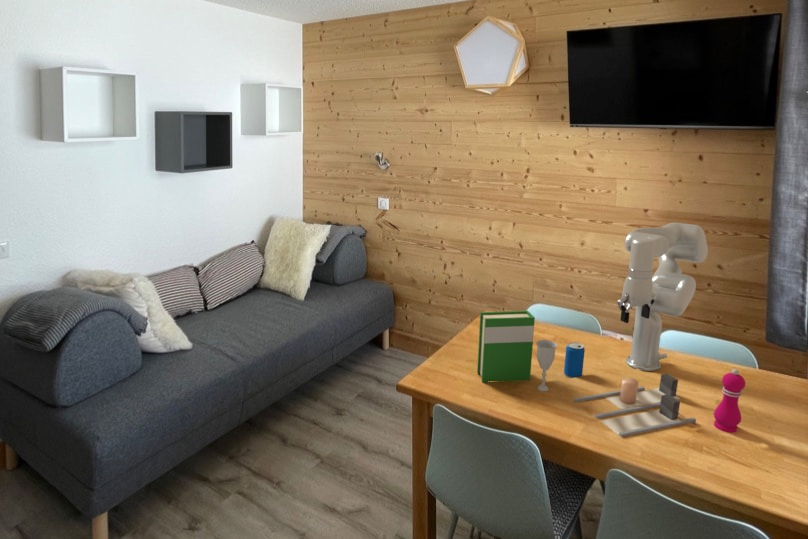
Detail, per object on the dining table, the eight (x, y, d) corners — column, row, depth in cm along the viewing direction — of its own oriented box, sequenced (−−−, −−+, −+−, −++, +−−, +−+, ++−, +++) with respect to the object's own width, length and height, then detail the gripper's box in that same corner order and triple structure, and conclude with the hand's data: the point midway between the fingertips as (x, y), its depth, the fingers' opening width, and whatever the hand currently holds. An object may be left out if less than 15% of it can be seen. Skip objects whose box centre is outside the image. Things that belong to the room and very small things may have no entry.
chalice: (529, 387, 194) (533, 339, 190) (548, 387, 195) (552, 339, 190) (536, 397, 187) (540, 348, 182) (555, 397, 188) (560, 347, 183)
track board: (640, 391, 192) (641, 385, 192) (696, 426, 170) (697, 419, 170) (572, 403, 183) (573, 397, 183) (622, 442, 162) (623, 435, 161)
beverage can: (582, 380, 200) (586, 349, 197) (564, 378, 201) (567, 347, 198) (580, 372, 206) (584, 342, 203) (563, 371, 208) (565, 341, 205)
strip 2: (662, 410, 178) (664, 391, 176) (681, 423, 171) (684, 403, 169) (600, 422, 170) (602, 403, 169) (617, 436, 163) (620, 416, 161)
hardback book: (482, 382, 198) (485, 319, 192) (477, 373, 205) (480, 312, 199) (529, 380, 200) (534, 317, 194) (523, 371, 207) (527, 310, 201)
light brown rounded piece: (628, 395, 186) (631, 376, 184) (639, 402, 182) (641, 383, 180) (616, 398, 184) (618, 378, 183) (626, 405, 180) (629, 385, 178)
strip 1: (661, 388, 193) (664, 371, 191) (679, 399, 185) (682, 381, 184) (604, 399, 185) (606, 381, 183) (620, 410, 178) (623, 392, 176)
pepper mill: (713, 420, 174) (723, 362, 169) (739, 428, 170) (750, 368, 165) (710, 431, 168) (720, 370, 163) (737, 438, 164) (749, 376, 159)
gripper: (649, 267, 198) (644, 312, 203) (612, 273, 192) (608, 320, 197) (667, 273, 192) (661, 319, 197) (629, 279, 185) (624, 327, 190)
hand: (634, 319), depth 197 cm, fingers open, 9 cm apart
